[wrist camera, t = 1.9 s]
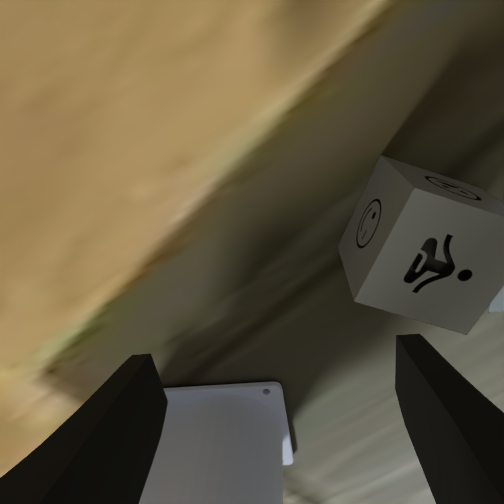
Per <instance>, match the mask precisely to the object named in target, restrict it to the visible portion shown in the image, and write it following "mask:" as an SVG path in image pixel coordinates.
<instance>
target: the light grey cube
mask: <svg viewBox="0 0 504 504" xmlns="http://www.w3.org/2000/svg"><path fill="white" fill-rule="evenodd" d="M338 250H339V253H340V257H341V260H342V263H343V267H344V270H345V273H346V277H347V280H348V283H349V287H350V290H351V293H352V297H353V300H354V302H357V303H361V304H364V305H367V306H371V307H374V308H377V309H381V310H384V311H388V312H391V313H394V314H398V315H401V316H404V317H408V318H411V319H414V320H418V321H421V322H424V323H428V324H431V325H435V326H438V327H441V328H445V329H448V330H451V331H455V332H458V333H461V334H465V335H467V334H468V333H469V331H470V330H471V329H472V327H473V326H474V325H475V323H476V322H477V321H478V319H479V318H480V317H481V315H482V314H483V313H484V311H485V310H486V309H487V307H488V306H489V305H490V303H491V302H492V301H493V299H494V298H495V297H496V295H497V294H498V293H499V291H500V290H501V289H502V288H503V286H504V203H502V202H501V201H499V200H498V199H496V198H495V197H493V196H491V195H490V194H488V193H487V192H485V191H484V190H482V189H481V188H479V187H476V186H473V185H470V184H467V183H464V182H461V181H458V180H455V179H452V178H449V177H446V176H443V175H440V174H437V173H434V172H431V171H428V170H425V169H422V168H419V167H416V166H413V165H410V164H407V163H403V162H400V161H397V160H394V159H391V158H388V157H385V156H382V155H380V157H379V159H378V161H377V163H376V165H375V168H374V170H373V172H372V174H371V176H370V178H369V180H368V183H367V185H366V187H365V189H364V191H363V193H362V195H361V198H360V200H359V202H358V204H357V206H356V208H355V210H354V213H353V215H352V217H351V219H350V221H349V223H348V225H347V228H346V230H345V232H344V234H343V236H342V238H341V240H340V243H339V245H338Z"/></svg>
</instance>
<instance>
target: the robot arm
mask: <svg viewBox="0 0 504 504" xmlns="http://www.w3.org/2000/svg"><path fill="white" fill-rule="evenodd" d="M264 389H268V390H264ZM395 390H396V393H397V397H398V401H399V405H400V408H401V412H402V415H403V419H404V423H405V426H406V428H407V431H408V433H409V436H410V439H411V441H412V444H413V446H414V449H415V451H416V454H417V456H418V459H419V461H420V464H421V466H422V469H423V471H424V474H425V476H426V479H427V482H428V484H429V487H430V489H431V492H432V494H433V497H434V499H435V502H436V504H504V413H503V412H502V411H501V410H500V409H499V408H497V407H496V406H495V405H494V404H493V403H492V402H491V401H489V400H488V399H487V398H486V397H485V396H484V395H483V394H482V393H481V392H479V391H478V390H477V389H476V388H475V387H474V386H473V385H472V384H471V383H470V382H468V381H467V380H466V379H465V378H464V377H463V376H462V375H461V374H460V373H459V372H458V371H457V370H456V369H455V368H454V367H453V366H452V365H451V364H450V363H449V362H448V361H446V360H445V359H444V358H443V357H442V356H441V355H440V354H439V353H438V352H437V350H436V349H435V348H434V347H433V346H432V345H431V344H430V343H429V342H428V341H427V340H426V339H425V338H424V337H423V336H422V335H420V334H409V335H396V376H395ZM293 462H294V456H293V450H292V444H291V438H290V432H289V426H288V420H287V414H286V408H285V402H284V396H283V390H282V386H281V384H280V383H278V382H258V383H242V384H226V385H209V386H193V387H177V388H163V386H162V383H161V381H160V378H159V375H158V372H157V370H156V367H155V364H154V361H153V359H152V356H151V354H141V355H132V356H131V357H130V358H128V359H127V360H126V361H125V362H124V363H123V364H122V365H121V366H120V367H119V368H118V369H117V370H116V371H115V372H114V373H113V374H112V376H111V377H110V378H109V379H108V380H107V381H106V382H105V383H104V384H103V385H102V386H101V387H100V388H99V389H98V390H97V391H96V392H95V393H94V394H93V395H92V396H91V397H90V398H89V399H88V400H87V401H86V402H85V403H84V404H83V405H82V406H81V407H80V408H79V409H78V410H77V411H76V412H75V413H74V414H73V415H72V416H71V417H70V418H68V419H67V420H66V421H65V422H64V423H63V424H62V425H61V426H60V427H59V428H58V429H57V430H56V431H55V432H54V433H53V434H51V435H50V436H49V437H48V438H47V439H46V440H45V441H44V442H43V443H42V444H41V445H39V446H38V447H37V448H36V449H35V450H34V451H32V452H31V453H30V454H29V455H28V456H27V457H25V458H24V459H23V460H22V461H21V462H19V463H18V464H17V465H16V466H14V467H13V468H12V469H11V470H10V471H8V472H7V473H6V474H5V475H3V476H2V477H1V478H0V504H283V465H290V464H292V463H293Z"/></svg>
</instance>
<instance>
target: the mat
mask: <svg viewBox="0 0 504 504" xmlns="http://www.w3.org/2000/svg"><path fill="white" fill-rule="evenodd" d="M499 311H504V286H503V288H502V289H501V290H500V291H499V293H498V294H497V295H496V297H495V298H494V299H493V301H492V302H491V303H490V305H489V308H488V312H499Z"/></svg>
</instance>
